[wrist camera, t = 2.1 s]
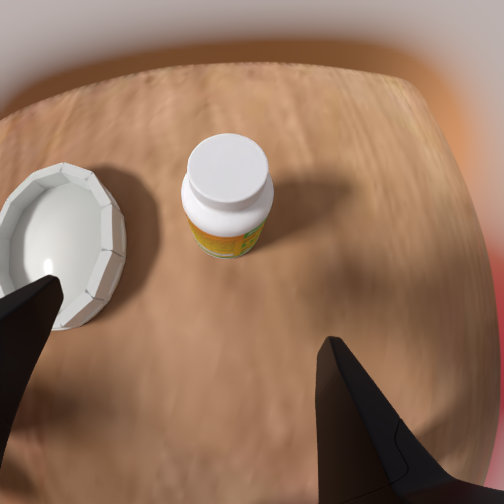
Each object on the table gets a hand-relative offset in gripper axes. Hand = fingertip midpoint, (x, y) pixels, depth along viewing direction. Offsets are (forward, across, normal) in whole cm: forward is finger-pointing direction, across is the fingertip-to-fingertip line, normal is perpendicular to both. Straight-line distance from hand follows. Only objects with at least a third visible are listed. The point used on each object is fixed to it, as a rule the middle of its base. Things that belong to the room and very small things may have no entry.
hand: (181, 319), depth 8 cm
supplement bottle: (+14, 0, +4) cm, 15 cm away
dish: (+11, +14, +8) cm, 20 cm away
